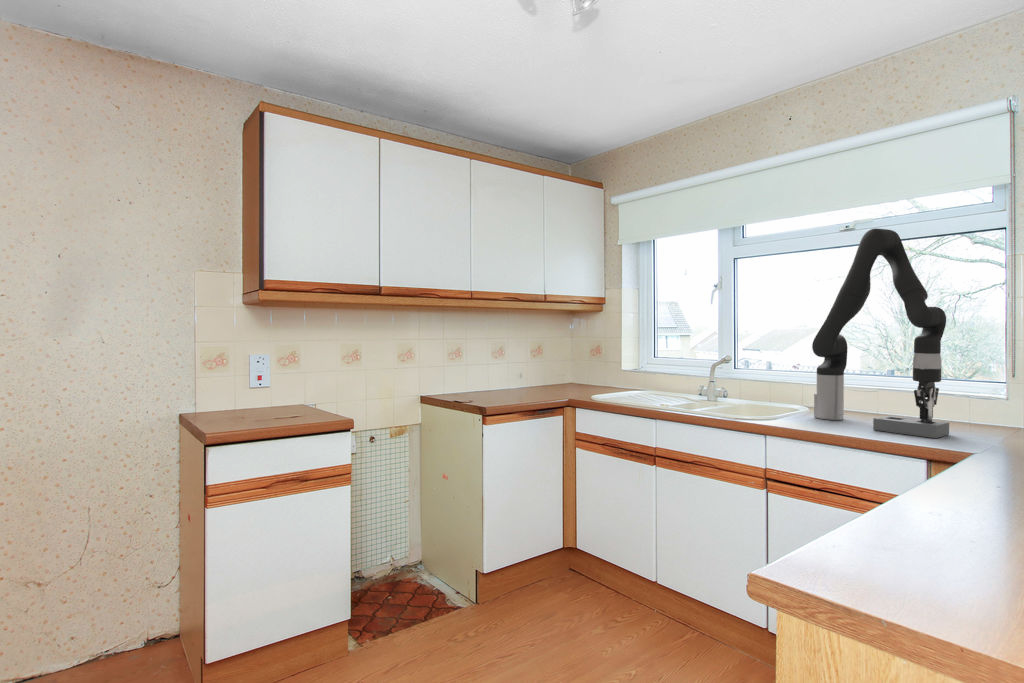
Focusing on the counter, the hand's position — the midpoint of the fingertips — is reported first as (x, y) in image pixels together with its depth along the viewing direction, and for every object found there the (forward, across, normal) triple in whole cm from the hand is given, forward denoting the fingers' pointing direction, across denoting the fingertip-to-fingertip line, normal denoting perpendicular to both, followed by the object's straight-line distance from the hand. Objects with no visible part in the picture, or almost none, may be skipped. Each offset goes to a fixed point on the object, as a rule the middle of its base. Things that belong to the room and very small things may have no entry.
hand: (926, 418), depth 180 cm
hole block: (+5, 0, -4) cm, 7 cm away
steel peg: (+2, 0, 0) cm, 2 cm away
